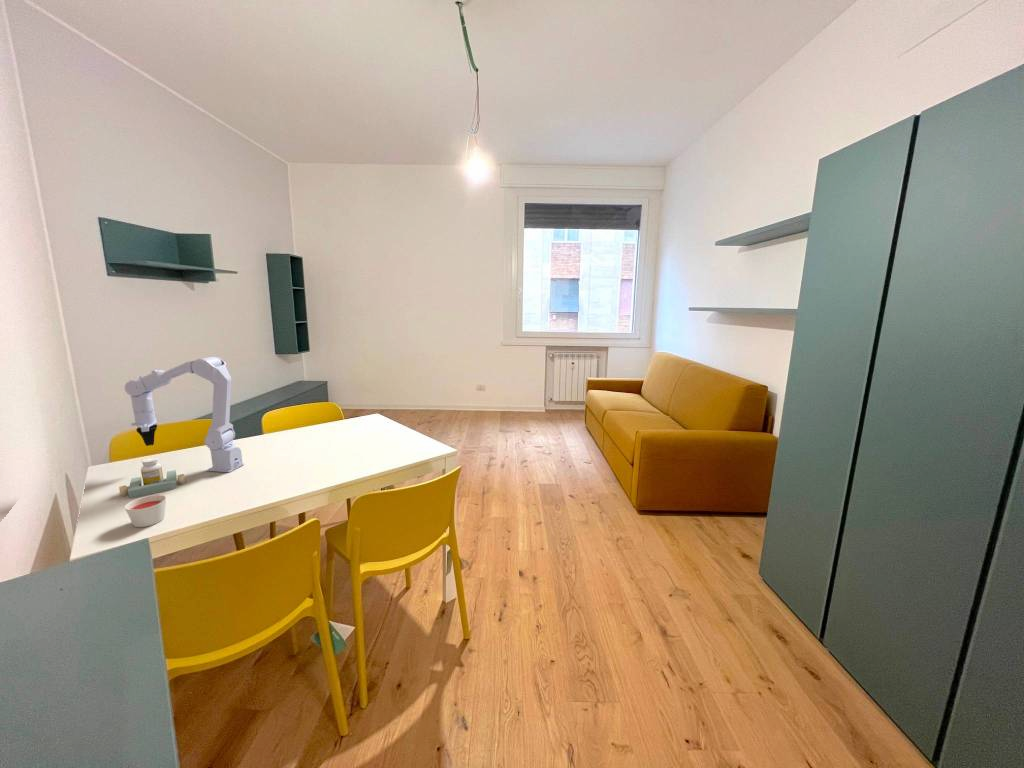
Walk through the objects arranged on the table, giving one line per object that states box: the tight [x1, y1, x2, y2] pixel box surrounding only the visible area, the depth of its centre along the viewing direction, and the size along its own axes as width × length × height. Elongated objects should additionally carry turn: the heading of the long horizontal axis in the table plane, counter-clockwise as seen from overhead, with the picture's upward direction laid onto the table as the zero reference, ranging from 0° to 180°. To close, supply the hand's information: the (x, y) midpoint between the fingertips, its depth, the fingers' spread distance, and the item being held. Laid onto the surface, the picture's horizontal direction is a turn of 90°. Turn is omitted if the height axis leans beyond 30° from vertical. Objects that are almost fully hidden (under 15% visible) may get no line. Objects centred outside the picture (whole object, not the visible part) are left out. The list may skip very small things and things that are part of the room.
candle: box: [124, 494, 167, 528], centre depth 117 cm, size 9×9×6 cm
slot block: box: [118, 469, 186, 499], centre depth 139 cm, size 12×17×3 cm
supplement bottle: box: [140, 457, 165, 486], centre depth 139 cm, size 5×5×10 cm
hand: (150, 444), depth 150 cm, fingers closed
